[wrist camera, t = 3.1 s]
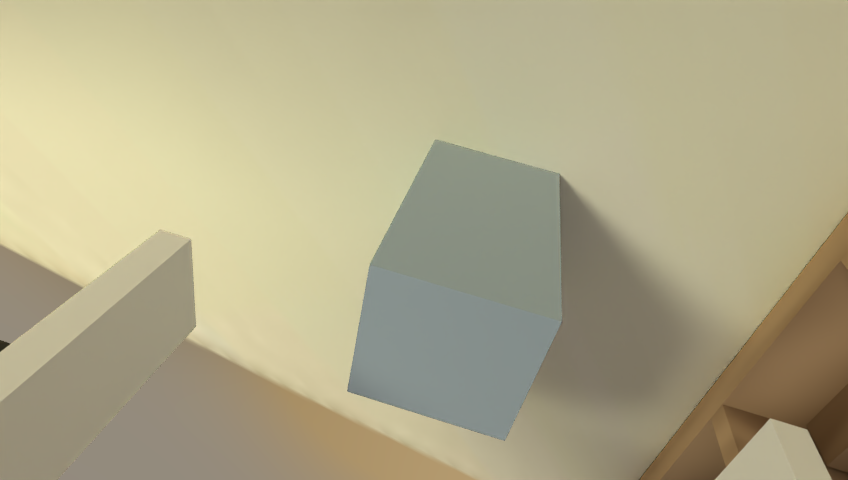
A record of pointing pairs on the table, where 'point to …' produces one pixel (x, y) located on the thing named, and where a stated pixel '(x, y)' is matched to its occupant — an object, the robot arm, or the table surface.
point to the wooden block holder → (778, 378)
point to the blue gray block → (463, 292)
